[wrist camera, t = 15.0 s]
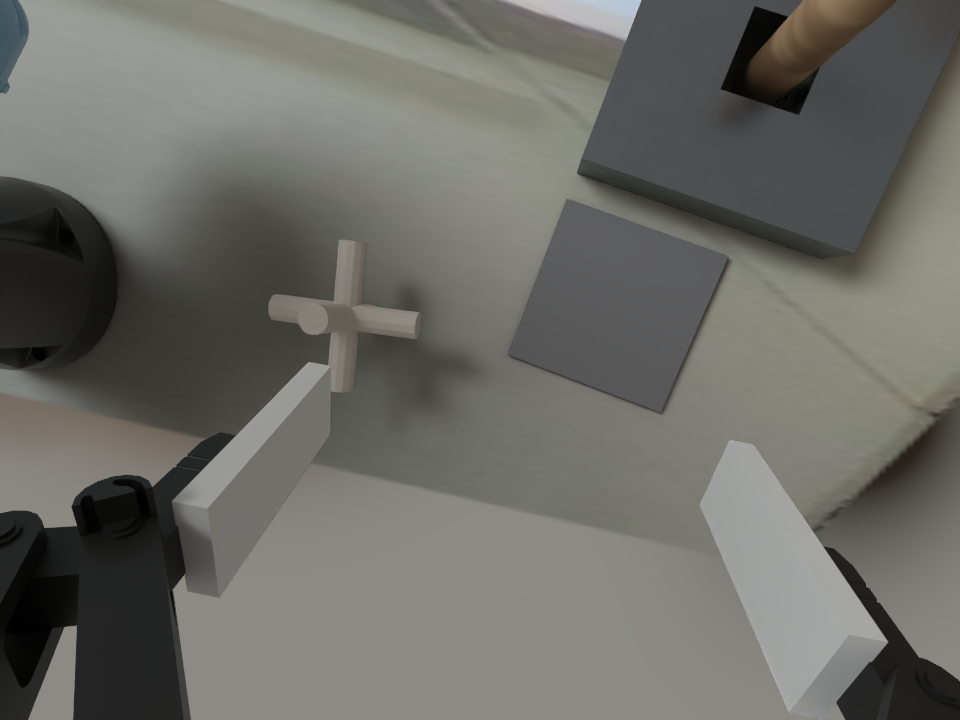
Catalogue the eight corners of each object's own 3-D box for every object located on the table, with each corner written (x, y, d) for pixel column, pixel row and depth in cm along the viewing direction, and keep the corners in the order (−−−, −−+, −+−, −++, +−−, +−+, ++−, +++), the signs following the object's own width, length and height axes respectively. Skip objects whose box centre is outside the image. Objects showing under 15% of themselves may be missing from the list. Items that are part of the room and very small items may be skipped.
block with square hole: (576, 172, 35) (581, 158, 31) (677, -93, 32) (695, -142, 29) (821, 258, 34) (854, 253, 30) (946, -10, 31) (998, -49, 28)
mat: (507, 354, 37) (507, 354, 36) (566, 200, 35) (566, 198, 35) (659, 411, 36) (660, 412, 36) (726, 256, 34) (728, 256, 34)
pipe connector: (314, 243, 37) (236, 220, 27) (440, 258, 36) (406, 239, 27) (304, 370, 39) (225, 392, 29) (426, 387, 38) (388, 416, 28)
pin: (724, 103, 33) (818, 5, 22) (744, 56, 33) (850, -68, 22) (769, 119, 33) (886, 27, 22) (790, 72, 33) (919, -46, 22)
